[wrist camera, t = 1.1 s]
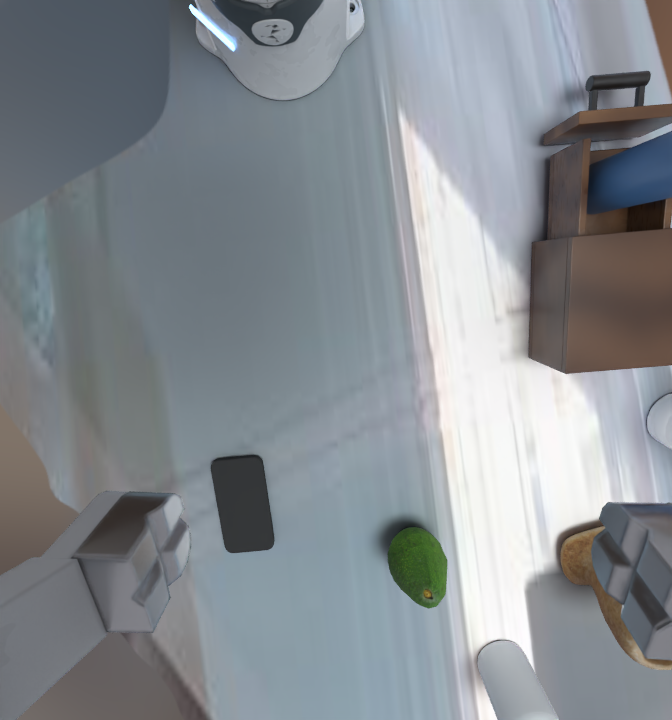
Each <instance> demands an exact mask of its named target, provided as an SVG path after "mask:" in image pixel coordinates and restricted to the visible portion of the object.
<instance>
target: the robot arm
mask: <svg viewBox="0 0 672 720" xmlns="http://www.w3.org/2000/svg"><path fill="white" fill-rule="evenodd" d="M195 2H196V9H195V8H194V7H193V6H192V5H190V6H189V8H190V10H191V12H192V13H193V14H194V15H195V16H196V35H197V38H198V40H199V42H200V44H201V45H202V46H203V47H204V48H205V49H206V50H208V51H209V52H211V53H212V54H214V55H216V56H217V57H219V58H221V59H222V60H223V61H224V62H225V64H226V65H227V66H228V68H229V69H230V70H231V72H232V73H233V74H234V76H235V77H236V78H237V79H238V80H239V81H240V82H241V83H242V84H243V85H244V86H245V87H247V88H248V89H250V90H251V91H253V92H254V93H256V94H258V95H260V96H263V97H266V98H269V99H274V100H292V99H297V98H300V97H303V96H305V95H307V94H309V93H311V92H313V91H314V90H316V89H317V88H318V87H320V86H321V85H322V84H323V83H324V82H325V81H326V80H327V79H328V77H329V76H330V75H331V73H332V72H333V70H334V69H335V67H336V65H337V63H338V61H339V59H340V57H341V55H342V53H343V51H344V50H345V48H346V47H347V46H348V45H350V44H351V43H352V42H353V41H354V40H355V39H356V38H357V37H358V36H359V35H360V34H361V33H362V31H363V29H364V24H365V22H364V13H363V8H362V4H361V0H195ZM350 7H352V8H354V11H353V12H350ZM184 509H185V508H184V505H183V501H182V498H181V496H180V495H178V494H175V493H153V492H131V491H130V492H119V491H105V492H103V493H100V494H98V495H97V496H96V497H95V498H94V500H93V501H92V502H91V503H90V504H89V505H88V506H87V507H86V508H85V509H84V510H83V512H82V513H81V514H80V515H79V516H78V517H77V518H76V519H75V520H74V522H73V523H72V524H71V525H70V526H69V527H68V528H67V529H66V530H65V531H64V532H63V533H62V535H61V536H60V537H59V538H58V539H57V540H56V541H55V542H54V543H53V544H52V546H51V547H50V548H49V549H48V550H47V551H46V552H45V553H44V554H43V555H42V556H41V557H40V558H39V557H32V558H30V559H29V560H27V561H25V562H23V563H21V564H20V565H18V566H16V567H15V568H13V569H11V570H9V571H7V572H6V573H4V574H2V575H0V720H16V719H17V718H18V717H20V716H21V715H22V714H23V713H24V712H25V711H26V710H27V709H28V708H29V707H30V706H31V705H32V704H34V703H35V702H36V701H37V700H38V699H39V698H40V697H41V696H42V695H43V694H44V693H45V692H46V691H47V690H49V689H50V688H51V687H52V686H53V685H54V684H55V683H56V682H57V681H58V680H59V679H61V678H62V677H63V676H64V675H65V674H66V673H67V672H68V671H69V670H70V669H71V668H72V667H73V666H75V665H76V664H77V663H78V662H79V661H80V660H81V659H82V658H83V657H84V656H85V655H86V654H88V653H89V652H90V651H91V650H92V649H93V648H94V647H95V646H96V645H97V644H98V643H99V642H100V641H102V640H103V639H104V638H105V637H106V636H107V632H128V633H153V632H154V630H155V628H156V626H157V624H158V622H159V620H160V618H161V616H162V614H163V612H164V610H165V608H166V606H167V604H168V602H169V600H170V598H171V597H170V593H169V588H168V586H169V585H171V584H172V583H173V582H174V581H176V580H177V579H178V578H179V577H181V575H182V573H183V571H184V569H185V567H186V565H187V562H188V558H189V554H190V549H191V533H190V529H189V526H188V525H187V524H186V523H185V522H184V521H183V520H182V519H181V518H180V516H181V515H182V513H183V511H184ZM599 519H600V521H601V522H602V524H603V525H604V527H605V529H603V530H602V531H601V532H600V533H598V534H597V535H596V536H595V537H594V539H593V544H592V548H591V555H592V563H593V568H594V570H595V573H596V576H597V578H598V580H599V582H600V584H601V585H602V587H603V589H604V591H605V592H606V593H607V594H608V595H610V596H611V597H612V598H614V599H615V600H616V601H618V602H619V603H620V604H622V610H621V619H622V621H623V622H624V624H625V626H626V627H627V629H628V630H629V632H630V634H631V635H632V637H633V639H634V640H635V642H636V644H637V645H638V647H639V648H640V650H641V652H642V653H643V655H644V657H645V658H647V659H660V660H672V503H628V502H608V503H607V504H606V505H605V506H604V507H603V508H602V511H601V514H600V518H599Z"/></svg>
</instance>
